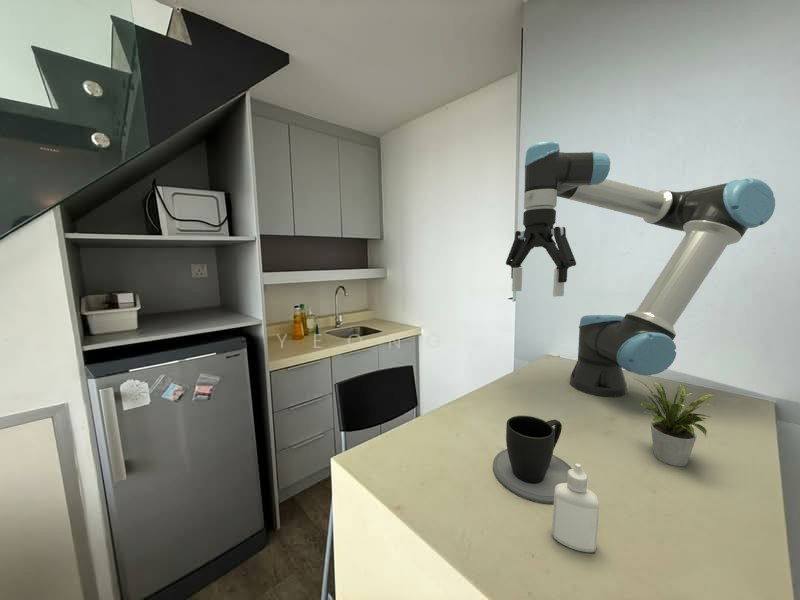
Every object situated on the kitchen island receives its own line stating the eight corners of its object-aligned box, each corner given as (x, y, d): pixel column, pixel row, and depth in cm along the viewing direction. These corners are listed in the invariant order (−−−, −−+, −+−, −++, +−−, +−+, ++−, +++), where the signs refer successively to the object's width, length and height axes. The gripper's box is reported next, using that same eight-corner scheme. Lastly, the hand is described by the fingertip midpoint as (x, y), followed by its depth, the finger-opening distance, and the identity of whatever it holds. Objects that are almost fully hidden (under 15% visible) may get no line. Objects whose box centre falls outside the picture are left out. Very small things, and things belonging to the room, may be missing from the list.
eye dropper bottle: (585, 563, 43) (591, 482, 42) (546, 534, 48) (550, 460, 46) (601, 546, 46) (607, 469, 44) (562, 520, 50) (566, 450, 49)
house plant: (610, 453, 67) (616, 379, 65) (630, 430, 76) (636, 364, 73) (703, 491, 56) (714, 403, 54) (714, 458, 65) (724, 382, 63)
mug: (577, 475, 59) (580, 427, 58) (528, 495, 54) (530, 443, 53) (541, 451, 67) (543, 408, 65) (495, 466, 62) (497, 420, 61)
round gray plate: (532, 443, 71) (532, 440, 71) (598, 487, 57) (598, 483, 57) (477, 462, 65) (477, 457, 65) (535, 515, 51) (536, 510, 51)
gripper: (494, 215, 90) (492, 290, 93) (573, 200, 67) (568, 299, 70) (514, 216, 93) (512, 288, 96) (597, 202, 70) (591, 297, 73)
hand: (535, 293), depth 83 cm, fingers open, 13 cm apart
